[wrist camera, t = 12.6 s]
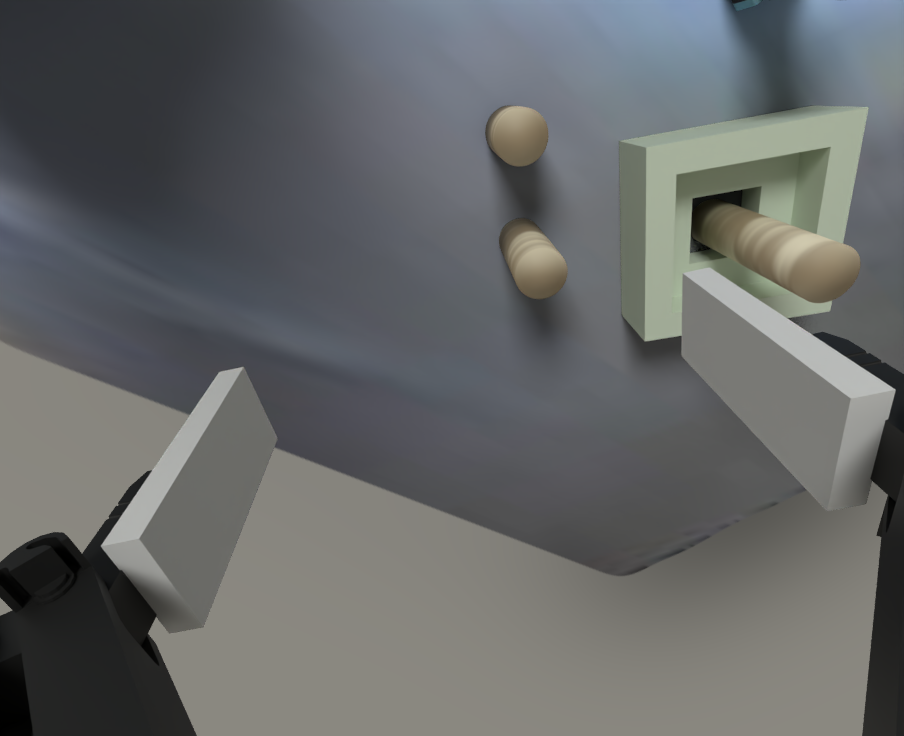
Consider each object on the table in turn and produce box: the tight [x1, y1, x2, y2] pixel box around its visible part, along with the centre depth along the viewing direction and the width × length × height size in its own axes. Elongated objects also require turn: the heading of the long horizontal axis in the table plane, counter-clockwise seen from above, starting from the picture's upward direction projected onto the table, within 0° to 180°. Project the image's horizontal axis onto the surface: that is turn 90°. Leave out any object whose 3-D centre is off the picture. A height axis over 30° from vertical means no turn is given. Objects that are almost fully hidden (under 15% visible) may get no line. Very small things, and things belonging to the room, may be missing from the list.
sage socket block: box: [619, 106, 869, 341], centre depth 39 cm, size 14×14×6 cm
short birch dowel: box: [485, 106, 548, 166], centre depth 35 cm, size 3×3×6 cm
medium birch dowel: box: [499, 218, 567, 299], centre depth 37 cm, size 3×3×9 cm
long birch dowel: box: [691, 199, 860, 303], centre depth 35 cm, size 3×3×14 cm
